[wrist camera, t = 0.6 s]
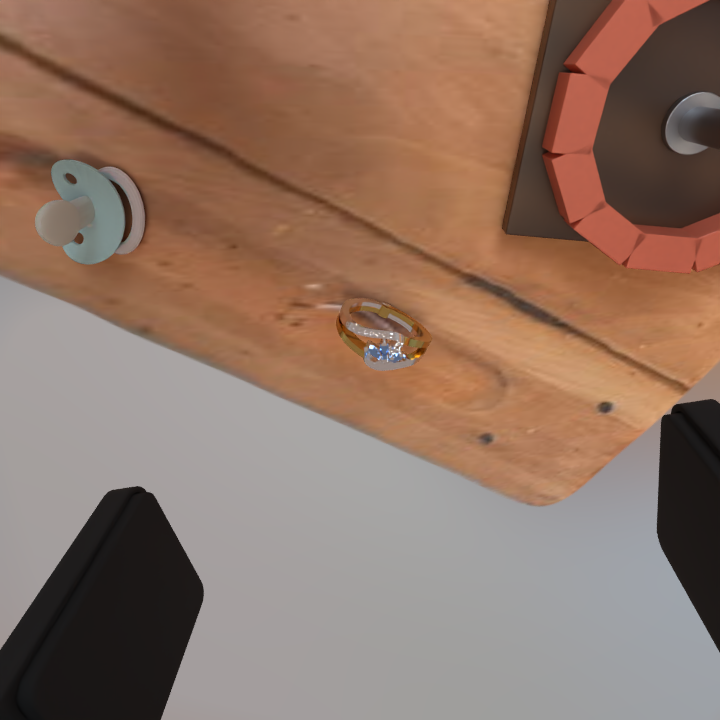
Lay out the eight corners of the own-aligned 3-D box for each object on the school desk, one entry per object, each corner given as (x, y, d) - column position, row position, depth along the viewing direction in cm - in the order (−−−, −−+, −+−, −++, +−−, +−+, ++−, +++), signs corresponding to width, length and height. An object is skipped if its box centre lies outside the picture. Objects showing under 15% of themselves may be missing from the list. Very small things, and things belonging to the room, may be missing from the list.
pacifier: (145, 163, 38) (59, 150, 37) (108, 181, 32) (6, 166, 32) (150, 261, 41) (71, 250, 41) (117, 292, 36) (26, 279, 35)
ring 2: (917, -40, 29) (958, -48, 27) (768, 270, 38) (790, 282, 36) (591, -69, 29) (606, -78, 27) (518, 248, 38) (525, 259, 36)
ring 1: (433, 307, 42) (442, 356, 35) (415, 339, 43) (420, 393, 36) (352, 272, 41) (344, 315, 34) (336, 307, 42) (326, 355, 35)
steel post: (658, 104, 33) (709, 112, 28) (721, 82, 32) (785, 86, 27) (663, 161, 34) (712, 179, 29) (723, 142, 34) (784, 157, 28)
